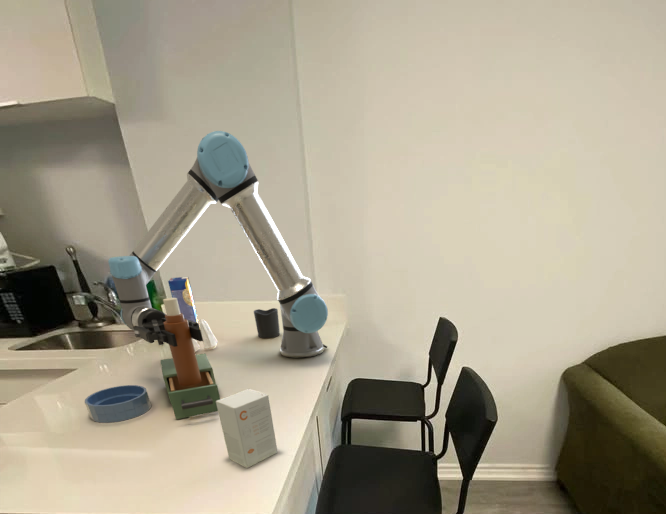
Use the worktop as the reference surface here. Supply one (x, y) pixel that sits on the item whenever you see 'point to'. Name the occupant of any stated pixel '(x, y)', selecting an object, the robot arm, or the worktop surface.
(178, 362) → the bottle
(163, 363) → the cabinet
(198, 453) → the worktop surface
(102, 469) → the worktop surface
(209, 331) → the shaker set
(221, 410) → the small box
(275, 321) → the pen holder
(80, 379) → the worktop surface
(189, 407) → the drawer
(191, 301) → the beverage box
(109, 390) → the bowl
